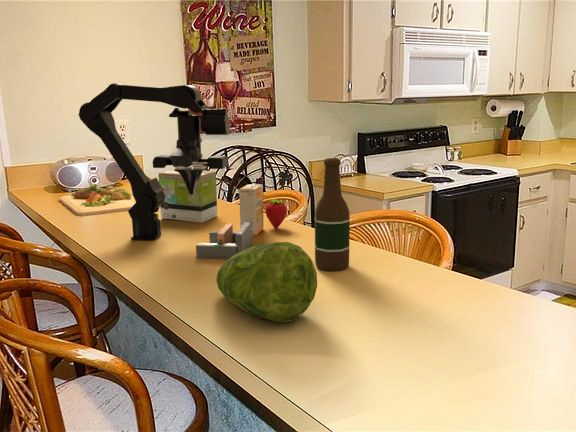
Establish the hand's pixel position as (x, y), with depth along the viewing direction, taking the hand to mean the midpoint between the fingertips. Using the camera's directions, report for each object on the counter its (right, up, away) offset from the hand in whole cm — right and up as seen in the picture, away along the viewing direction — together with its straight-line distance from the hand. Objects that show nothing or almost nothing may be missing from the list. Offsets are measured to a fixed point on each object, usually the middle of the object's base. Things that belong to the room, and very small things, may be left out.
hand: (191, 194), depth 145 cm
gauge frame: (+10, -14, -9) cm, 20 cm away
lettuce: (+20, -23, -46) cm, 55 cm away
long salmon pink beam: (+10, -14, -11) cm, 20 cm away
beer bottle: (+35, -17, -23) cm, 45 cm away
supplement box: (+16, -11, +8) cm, 20 cm away
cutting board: (-41, -2, +51) cm, 66 cm away
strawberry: (+22, -9, +12) cm, 27 cm away
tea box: (-5, -7, +27) cm, 28 cm away
